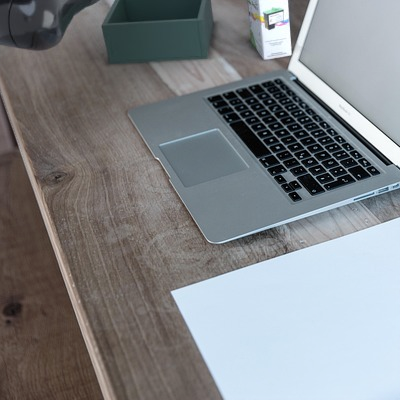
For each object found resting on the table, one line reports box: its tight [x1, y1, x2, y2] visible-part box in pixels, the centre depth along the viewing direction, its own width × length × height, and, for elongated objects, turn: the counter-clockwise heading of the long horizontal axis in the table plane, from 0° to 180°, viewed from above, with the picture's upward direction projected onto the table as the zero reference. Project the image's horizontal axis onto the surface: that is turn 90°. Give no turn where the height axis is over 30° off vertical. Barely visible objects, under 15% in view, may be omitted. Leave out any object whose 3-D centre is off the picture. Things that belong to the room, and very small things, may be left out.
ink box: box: [246, 0, 293, 60], centre depth 113 cm, size 8×5×12 cm, turn 19°
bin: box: [101, 0, 215, 65], centre depth 118 cm, size 16×16×7 cm
